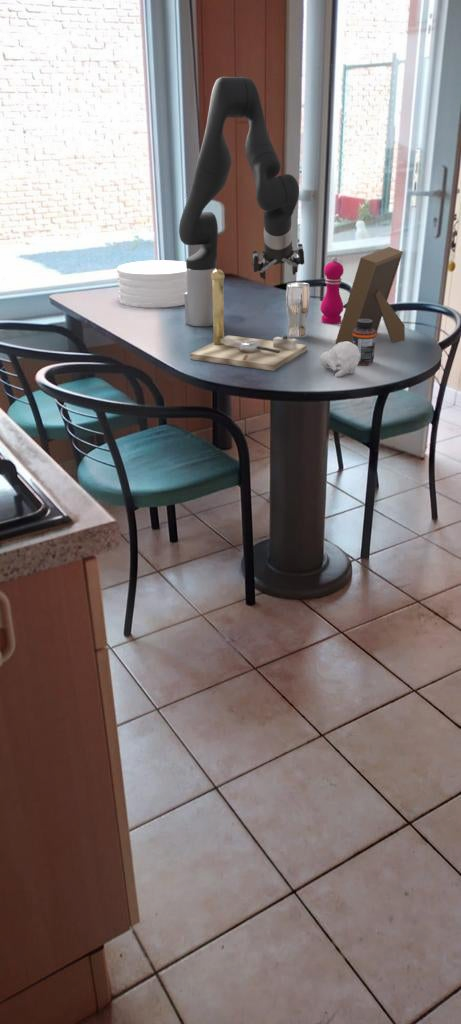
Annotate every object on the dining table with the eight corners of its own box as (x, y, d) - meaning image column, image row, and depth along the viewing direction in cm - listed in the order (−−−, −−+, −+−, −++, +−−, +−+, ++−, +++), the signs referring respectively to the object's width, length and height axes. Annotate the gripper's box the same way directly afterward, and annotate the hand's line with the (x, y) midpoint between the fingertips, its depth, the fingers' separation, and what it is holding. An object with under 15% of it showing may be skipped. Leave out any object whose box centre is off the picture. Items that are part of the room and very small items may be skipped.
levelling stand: (190, 359, 211) (189, 341, 209) (227, 340, 228) (227, 324, 226) (273, 370, 201) (274, 352, 198) (306, 350, 218) (307, 333, 216)
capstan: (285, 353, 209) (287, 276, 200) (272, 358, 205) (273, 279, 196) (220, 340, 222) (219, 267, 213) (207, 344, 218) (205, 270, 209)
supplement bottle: (349, 359, 209) (352, 317, 204) (371, 359, 209) (375, 317, 204) (352, 366, 204) (354, 322, 199) (374, 366, 204) (378, 322, 199)
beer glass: (310, 333, 235) (312, 282, 228) (305, 339, 229) (306, 287, 222) (288, 332, 237) (289, 281, 230) (282, 337, 231) (283, 285, 224)
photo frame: (335, 347, 221) (341, 255, 209) (363, 330, 237) (370, 245, 226) (384, 354, 214) (393, 260, 202) (410, 337, 231) (420, 249, 219)
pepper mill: (341, 324, 244) (345, 258, 235) (318, 323, 246) (321, 258, 236) (343, 319, 251) (347, 255, 241) (321, 318, 252) (323, 254, 243)
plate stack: (211, 296, 285) (211, 264, 280) (166, 311, 264) (164, 276, 259) (151, 289, 299) (149, 258, 294) (103, 302, 278) (100, 269, 273)
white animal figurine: (343, 345, 189) (313, 339, 199) (343, 379, 193) (313, 372, 202) (363, 341, 192) (332, 335, 202) (362, 375, 196) (332, 368, 205)
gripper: (302, 221, 207) (301, 259, 222) (249, 229, 207) (251, 267, 222) (306, 244, 204) (305, 281, 219) (253, 252, 204) (255, 289, 220)
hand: (278, 274), depth 221 cm, fingers open, 8 cm apart
